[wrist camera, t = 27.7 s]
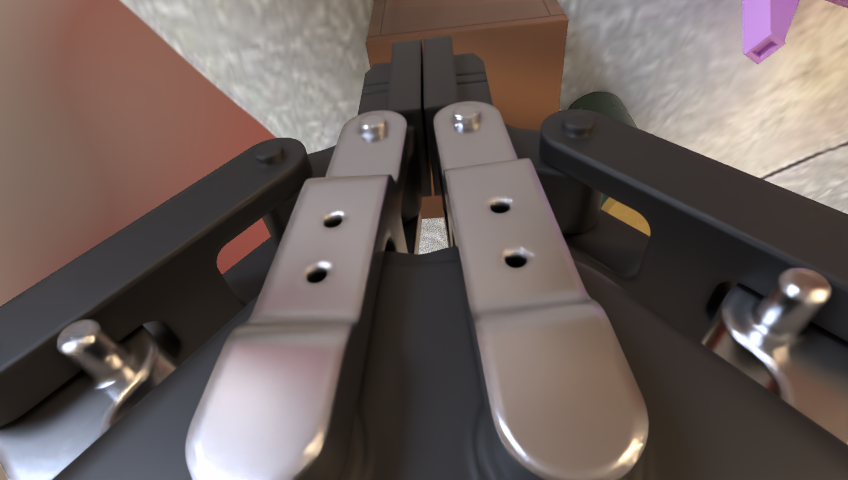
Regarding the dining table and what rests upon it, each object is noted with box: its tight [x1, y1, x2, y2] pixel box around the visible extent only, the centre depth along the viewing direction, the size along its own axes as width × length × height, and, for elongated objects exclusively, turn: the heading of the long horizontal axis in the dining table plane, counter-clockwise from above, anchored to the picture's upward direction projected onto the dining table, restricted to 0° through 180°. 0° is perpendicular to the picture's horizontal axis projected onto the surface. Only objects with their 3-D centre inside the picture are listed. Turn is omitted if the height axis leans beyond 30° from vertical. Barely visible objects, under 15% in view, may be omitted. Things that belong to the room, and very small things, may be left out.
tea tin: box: [568, 92, 650, 236], centre depth 39 cm, size 6×6×14 cm
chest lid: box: [366, 15, 568, 219], centre depth 35 cm, size 16×13×1 cm
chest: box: [367, 0, 565, 38], centre depth 38 cm, size 15×13×8 cm
